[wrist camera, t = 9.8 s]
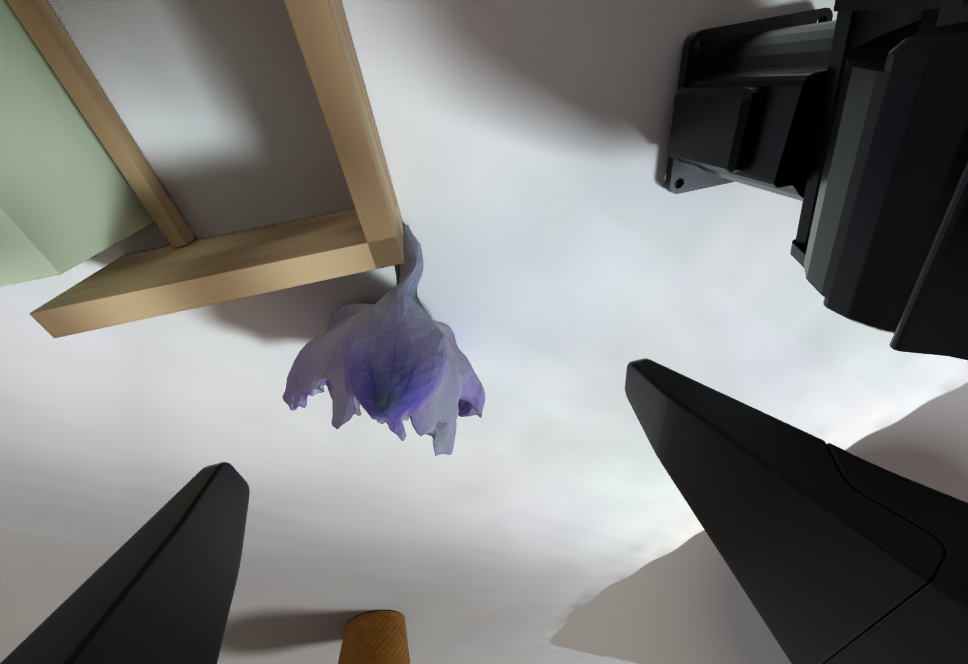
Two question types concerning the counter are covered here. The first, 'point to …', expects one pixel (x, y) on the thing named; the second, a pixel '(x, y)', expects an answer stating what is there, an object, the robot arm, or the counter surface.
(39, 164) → the pale green block
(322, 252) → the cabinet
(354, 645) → the disposable coffee cup
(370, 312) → the flower
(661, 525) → the counter surface
